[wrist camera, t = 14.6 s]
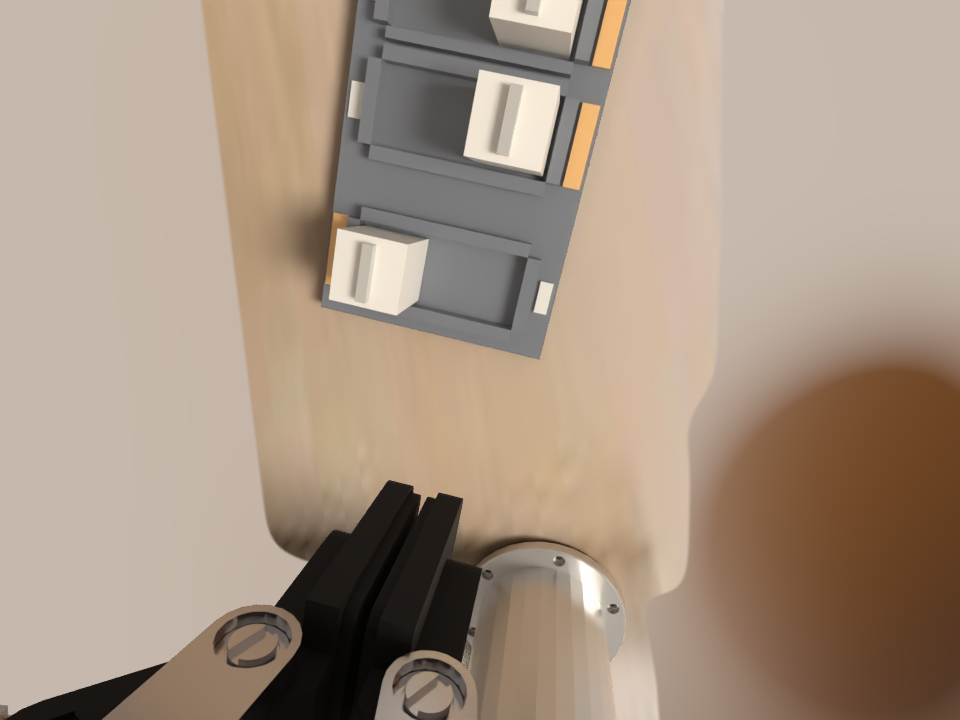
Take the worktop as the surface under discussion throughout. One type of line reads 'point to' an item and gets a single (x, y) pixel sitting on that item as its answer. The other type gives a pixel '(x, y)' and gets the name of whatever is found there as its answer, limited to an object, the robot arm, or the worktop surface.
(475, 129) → the white block with ridge
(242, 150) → the worktop surface
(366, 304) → the white switch slider block
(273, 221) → the worktop surface
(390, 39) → the switch board
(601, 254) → the worktop surface
